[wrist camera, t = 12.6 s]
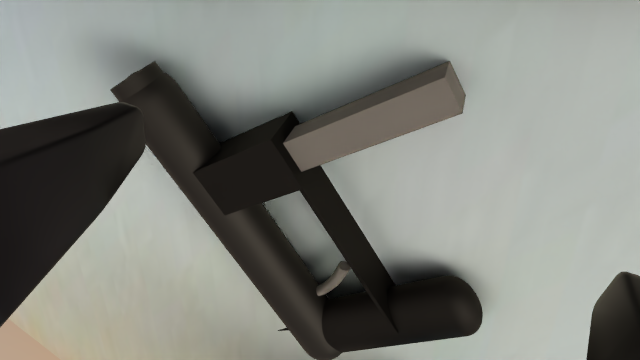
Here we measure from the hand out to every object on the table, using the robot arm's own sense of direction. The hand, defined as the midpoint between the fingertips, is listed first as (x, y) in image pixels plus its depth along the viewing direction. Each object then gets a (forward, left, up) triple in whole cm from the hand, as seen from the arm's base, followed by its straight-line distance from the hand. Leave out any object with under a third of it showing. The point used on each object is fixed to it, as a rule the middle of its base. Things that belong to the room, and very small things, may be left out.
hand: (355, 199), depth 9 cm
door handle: (+3, +11, -13) cm, 17 cm away
